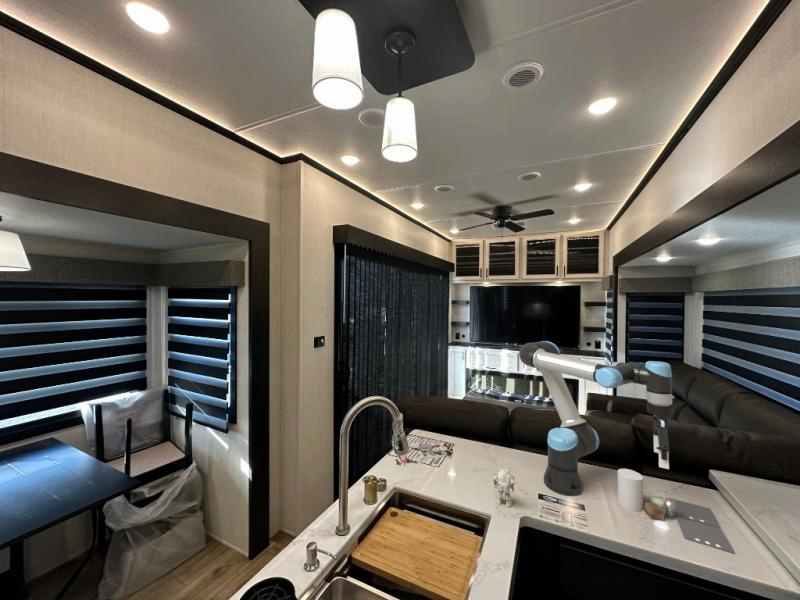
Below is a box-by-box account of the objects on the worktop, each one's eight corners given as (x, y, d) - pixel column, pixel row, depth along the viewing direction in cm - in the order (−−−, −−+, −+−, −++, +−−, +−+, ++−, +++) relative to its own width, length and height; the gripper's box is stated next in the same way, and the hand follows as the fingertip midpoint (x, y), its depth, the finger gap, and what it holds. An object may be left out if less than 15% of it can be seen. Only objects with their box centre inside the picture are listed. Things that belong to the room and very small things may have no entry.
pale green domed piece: (651, 507, 122) (651, 500, 122) (649, 501, 125) (649, 494, 125) (664, 511, 120) (664, 503, 120) (662, 505, 123) (662, 497, 123)
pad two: (676, 516, 117) (676, 514, 117) (669, 498, 127) (669, 497, 127) (720, 528, 111) (720, 527, 111) (709, 509, 121) (709, 507, 121)
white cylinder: (647, 512, 119) (647, 481, 119) (623, 509, 121) (623, 478, 121) (636, 499, 127) (636, 469, 127) (613, 496, 129) (613, 467, 129)
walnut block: (651, 519, 115) (651, 508, 115) (645, 512, 119) (645, 502, 119) (663, 521, 114) (663, 510, 114) (657, 513, 118) (657, 503, 118)
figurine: (518, 507, 122) (518, 469, 122) (503, 513, 119) (503, 474, 119) (503, 495, 129) (503, 459, 129) (489, 501, 126) (489, 464, 126)
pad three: (684, 538, 106) (684, 537, 106) (676, 517, 116) (676, 516, 116) (734, 553, 100) (734, 552, 100) (721, 530, 110) (721, 528, 110)
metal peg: (665, 517, 116) (665, 501, 116) (663, 512, 119) (663, 497, 119) (676, 520, 115) (676, 504, 115) (674, 515, 117) (674, 499, 117)
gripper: (679, 414, 105) (681, 478, 104) (666, 396, 126) (668, 449, 125) (650, 411, 109) (652, 471, 109) (643, 393, 130) (644, 444, 129)
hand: (661, 459), depth 117 cm, fingers open, 13 cm apart
